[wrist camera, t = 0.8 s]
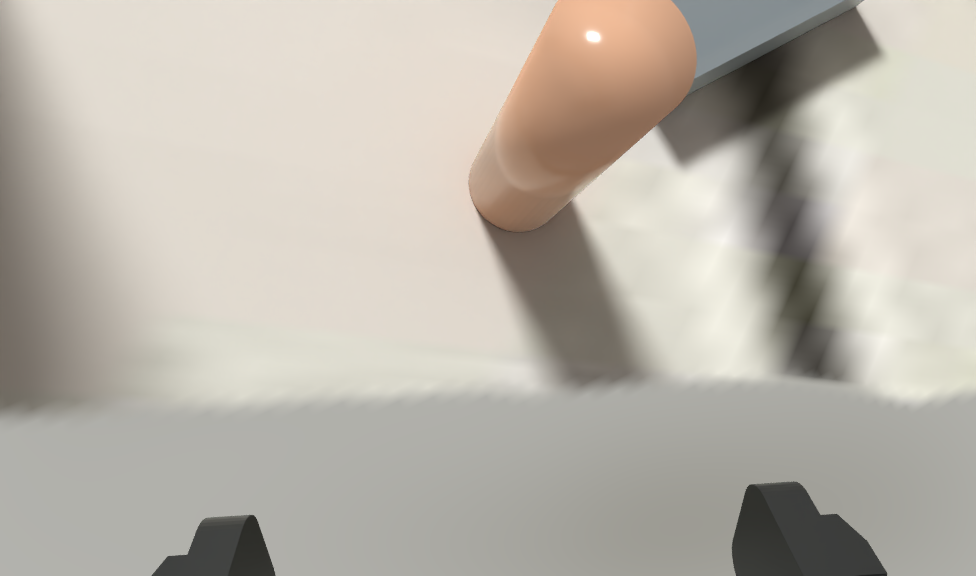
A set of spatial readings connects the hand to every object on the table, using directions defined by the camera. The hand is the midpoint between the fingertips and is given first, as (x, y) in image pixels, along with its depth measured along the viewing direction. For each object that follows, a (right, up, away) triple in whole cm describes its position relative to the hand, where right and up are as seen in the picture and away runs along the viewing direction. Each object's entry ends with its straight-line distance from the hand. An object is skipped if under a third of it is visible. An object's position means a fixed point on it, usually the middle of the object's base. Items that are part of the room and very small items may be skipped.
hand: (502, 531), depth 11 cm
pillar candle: (+1, +9, +23) cm, 25 cm away
